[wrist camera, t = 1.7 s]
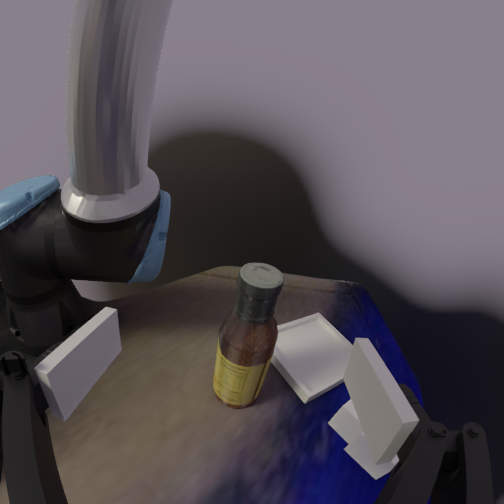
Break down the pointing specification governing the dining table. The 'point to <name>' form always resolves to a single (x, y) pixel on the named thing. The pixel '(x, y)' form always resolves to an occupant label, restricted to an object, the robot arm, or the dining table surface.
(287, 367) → the tray
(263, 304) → the sauce bottle
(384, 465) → the white stepped block
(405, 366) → the dining table surface
